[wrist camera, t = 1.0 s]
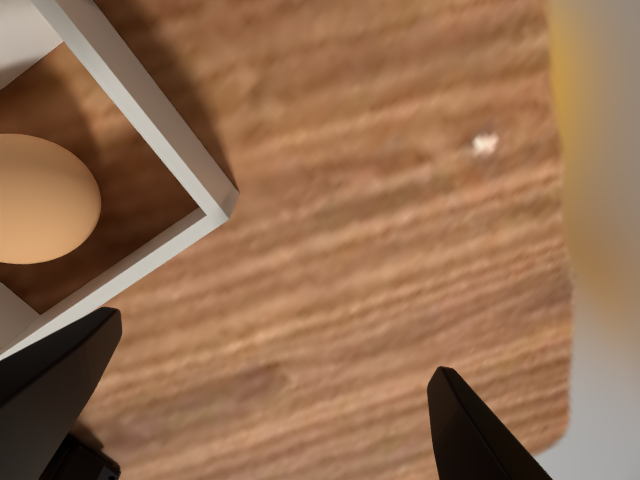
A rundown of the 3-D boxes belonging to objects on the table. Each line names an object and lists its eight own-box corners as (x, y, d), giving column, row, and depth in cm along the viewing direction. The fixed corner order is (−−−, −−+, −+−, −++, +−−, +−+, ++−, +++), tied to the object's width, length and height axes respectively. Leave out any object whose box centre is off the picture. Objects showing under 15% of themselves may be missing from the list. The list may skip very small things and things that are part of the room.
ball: (64, 256, 20) (-16, 311, 15) (-27, 171, 18) (-160, 199, 13) (144, 200, 20) (93, 236, 14) (60, 106, 18) (-39, 104, 12)
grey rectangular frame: (41, 328, 22) (-23, 387, 17) (-142, 178, 18) (-291, 203, 13) (239, 194, 20) (229, 219, 16) (90, -3, 16) (16, -49, 12)
